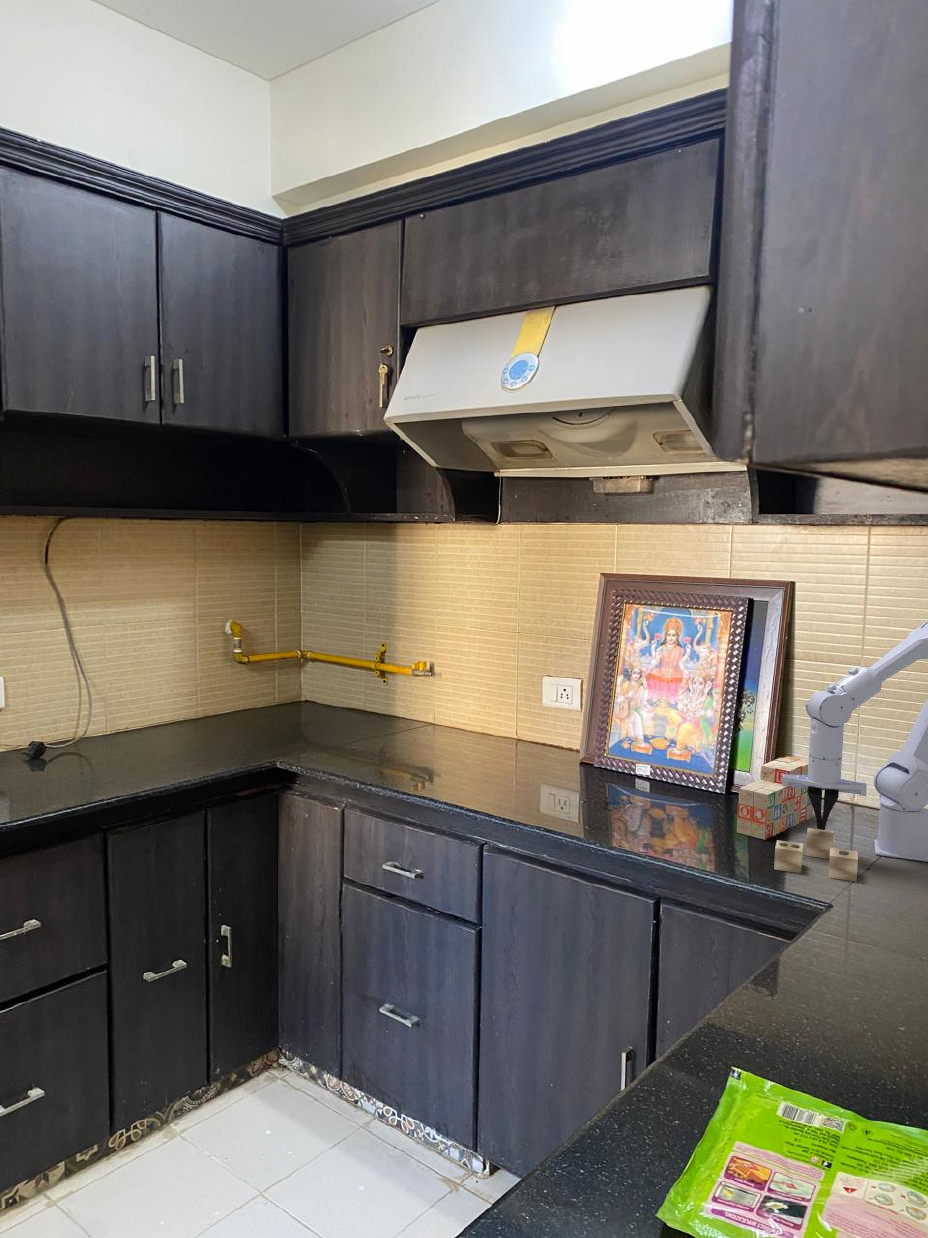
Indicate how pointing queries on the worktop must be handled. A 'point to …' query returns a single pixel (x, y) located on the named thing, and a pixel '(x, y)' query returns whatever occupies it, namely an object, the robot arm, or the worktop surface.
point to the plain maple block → (819, 843)
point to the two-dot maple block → (788, 856)
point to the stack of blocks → (773, 800)
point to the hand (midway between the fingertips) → (821, 828)
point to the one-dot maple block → (843, 864)
